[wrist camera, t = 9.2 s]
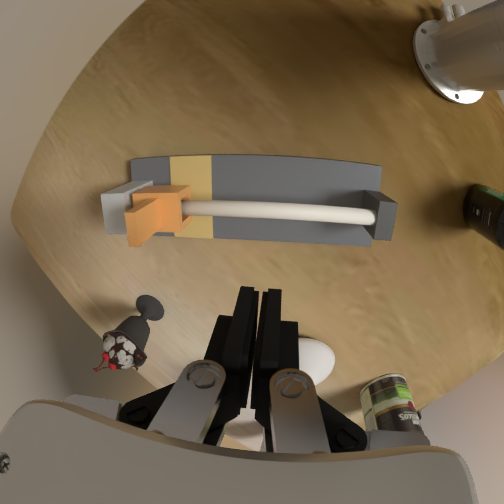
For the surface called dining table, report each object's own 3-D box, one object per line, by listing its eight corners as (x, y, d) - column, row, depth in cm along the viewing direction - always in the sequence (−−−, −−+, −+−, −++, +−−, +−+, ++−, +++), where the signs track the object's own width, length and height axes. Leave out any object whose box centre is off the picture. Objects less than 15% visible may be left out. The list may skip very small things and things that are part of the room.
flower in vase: (252, 365, 44) (233, 503, 21) (287, 320, 39) (286, 488, 16) (315, 386, 45) (321, 511, 22) (354, 349, 40) (384, 489, 18)
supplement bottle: (469, 176, 27) (526, 199, 16) (495, 193, 27) (547, 218, 16) (455, 220, 30) (506, 256, 19) (482, 233, 30) (529, 268, 19)
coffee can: (385, 367, 42) (405, 429, 29) (414, 380, 43) (433, 434, 31) (348, 397, 46) (357, 456, 33) (379, 407, 47) (390, 459, 35)
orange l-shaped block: (190, 184, 28) (155, 206, 20) (192, 220, 30) (160, 253, 22) (149, 185, 28) (104, 207, 20) (152, 219, 30) (111, 250, 22)
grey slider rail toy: (377, 165, 29) (408, 176, 21) (367, 242, 33) (389, 273, 25) (136, 158, 31) (98, 168, 23) (142, 230, 35) (110, 257, 28)
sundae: (124, 298, 41) (77, 360, 27) (151, 284, 39) (102, 351, 25) (148, 328, 43) (111, 394, 29) (177, 317, 41) (141, 389, 27)
